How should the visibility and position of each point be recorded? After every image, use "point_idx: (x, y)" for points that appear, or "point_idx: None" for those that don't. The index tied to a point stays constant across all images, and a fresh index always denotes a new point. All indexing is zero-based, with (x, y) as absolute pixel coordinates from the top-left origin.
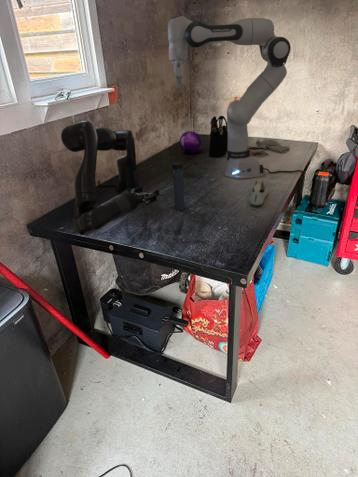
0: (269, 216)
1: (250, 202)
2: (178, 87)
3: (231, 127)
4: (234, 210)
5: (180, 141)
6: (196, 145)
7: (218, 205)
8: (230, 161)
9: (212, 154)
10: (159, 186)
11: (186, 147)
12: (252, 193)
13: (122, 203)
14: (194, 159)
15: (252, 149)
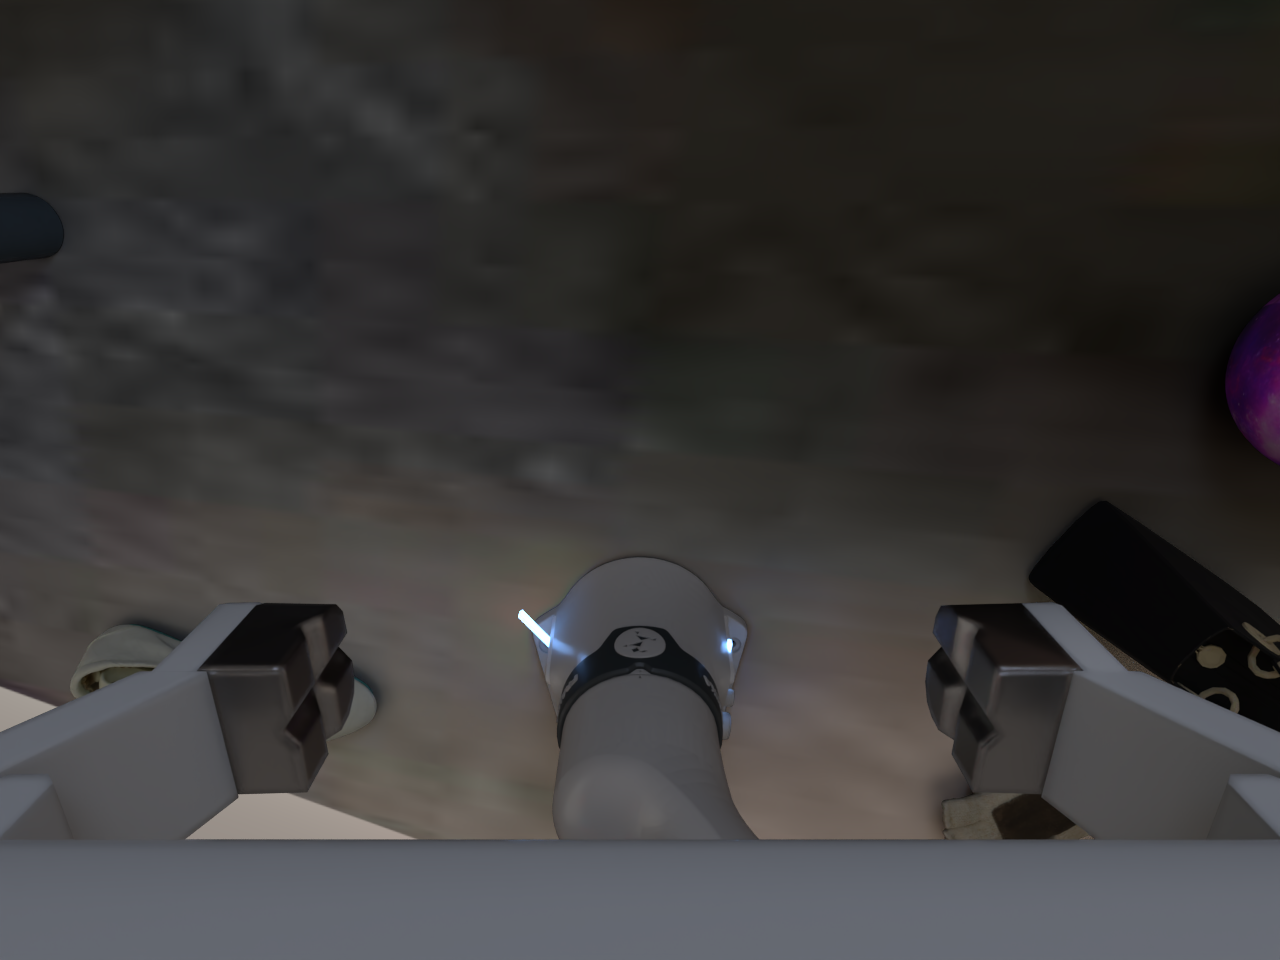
0: (17, 673)
1: (111, 628)
2: (230, 614)
3: (656, 838)
4: (59, 536)
5: None
6: (1246, 429)
7: (115, 463)
8: (590, 642)
9: (1077, 531)
10: (438, 55)
11: (1260, 327)
12: (85, 665)
13: None
14: (1068, 376)
15: (1009, 804)
